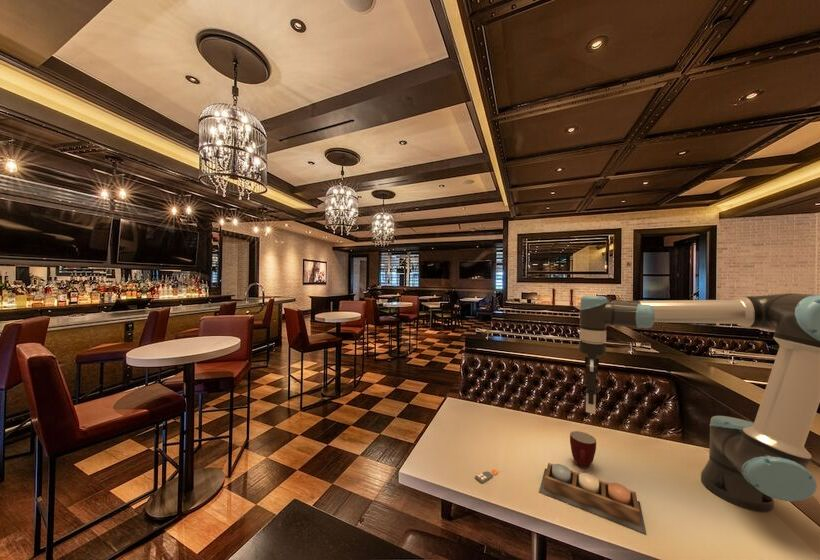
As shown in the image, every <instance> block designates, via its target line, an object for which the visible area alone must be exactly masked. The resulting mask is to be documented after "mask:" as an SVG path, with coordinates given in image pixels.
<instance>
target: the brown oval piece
mask: <svg viewBox="0 0 820 560" xmlns="http://www.w3.org/2000/svg"><path fill="white" fill-rule="evenodd" d="M608 483H609V484H608V498H609V499H612V500H614V501H617V502H620V503H623V504H625V505H628V506H630V491H629V490H630V489H629V488H627V487H626V486H624V485H623V484H621V483H618V482H608Z"/></svg>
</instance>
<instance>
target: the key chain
mask: <svg viewBox="0 0 820 560" xmlns="http://www.w3.org/2000/svg"><path fill="white" fill-rule="evenodd" d="M499 473H504V471H503V470H497V469H492V470H491V472H490V471H487V470H486V471H483V472H482V473H479V474H477V475H475V476H474V479H475V480H476V481H477V482H478V483H480V484H481V485H483V484H485V483H487V482H488V481H490V480H491V479H493V476H494V475H497V476H498V475H499Z"/></svg>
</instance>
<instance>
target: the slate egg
mask: <svg viewBox="0 0 820 560" xmlns="http://www.w3.org/2000/svg"><path fill="white" fill-rule="evenodd" d="M570 470H571V469H570V468H569V467H568V466H566V465H564V464H561V463H554V465H553V466H552V478H554V479H557V480H559V481H562V482H565V483H568V484H570V474H571V472H570Z"/></svg>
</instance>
